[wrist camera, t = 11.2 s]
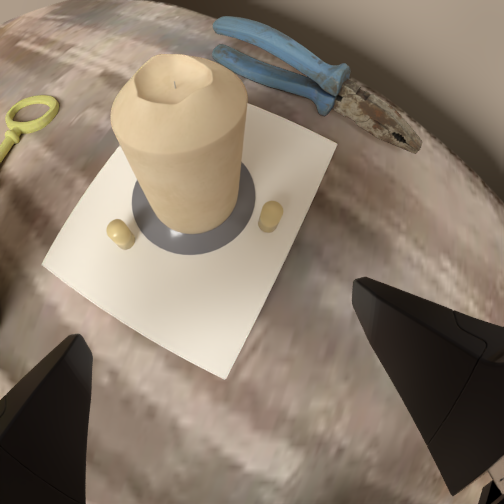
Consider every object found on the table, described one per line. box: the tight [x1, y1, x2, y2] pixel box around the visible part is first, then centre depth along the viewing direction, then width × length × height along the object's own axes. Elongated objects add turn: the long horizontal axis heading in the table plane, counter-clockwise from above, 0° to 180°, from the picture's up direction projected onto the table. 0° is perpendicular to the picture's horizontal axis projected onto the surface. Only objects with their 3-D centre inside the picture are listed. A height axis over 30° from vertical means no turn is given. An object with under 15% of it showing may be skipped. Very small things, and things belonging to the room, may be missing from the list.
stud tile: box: [41, 103, 337, 380], centre depth 18 cm, size 18×14×3 cm
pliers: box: [212, 16, 422, 154], centre depth 21 cm, size 20×2×6 cm, turn 54°
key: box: [0, 95, 59, 163], centre depth 20 cm, size 7×12×2 cm, turn 3°
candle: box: [111, 54, 247, 234], centre depth 14 cm, size 6×6×10 cm
